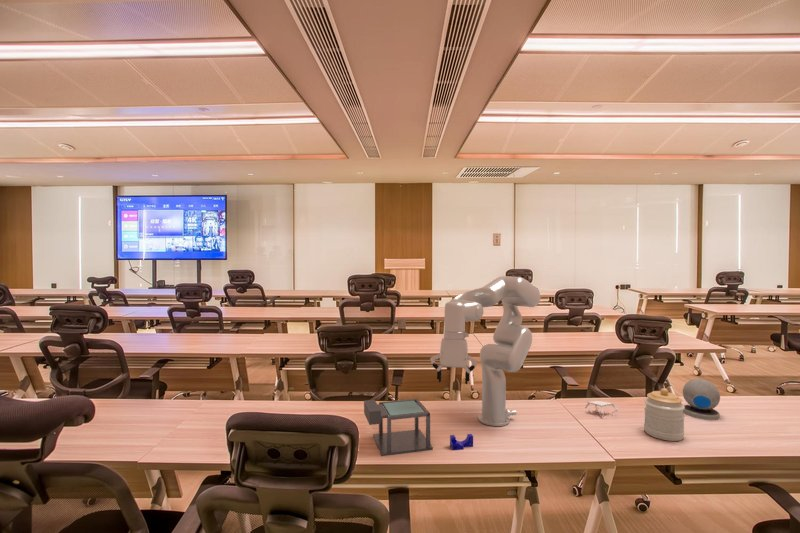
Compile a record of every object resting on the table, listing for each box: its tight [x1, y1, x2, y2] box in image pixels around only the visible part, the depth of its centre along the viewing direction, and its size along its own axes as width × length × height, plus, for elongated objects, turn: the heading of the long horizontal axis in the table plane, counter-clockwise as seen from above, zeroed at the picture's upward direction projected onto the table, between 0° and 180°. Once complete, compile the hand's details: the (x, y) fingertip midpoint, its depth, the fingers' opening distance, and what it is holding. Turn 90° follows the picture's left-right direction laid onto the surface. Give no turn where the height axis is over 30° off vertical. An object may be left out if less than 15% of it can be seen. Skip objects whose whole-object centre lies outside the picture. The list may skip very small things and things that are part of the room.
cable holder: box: [449, 433, 474, 451], centre depth 145 cm, size 8×4×4 cm, turn 98°
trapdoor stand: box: [372, 398, 434, 457], centre depth 148 cm, size 18×16×13 cm
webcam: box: [682, 378, 721, 421], centre depth 175 cm, size 13×13×15 cm
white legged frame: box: [584, 400, 619, 418], centre depth 175 cm, size 12×8×5 cm
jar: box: [643, 387, 685, 442], centre depth 155 cm, size 13×13×18 cm
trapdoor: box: [363, 399, 424, 426], centre depth 147 cm, size 19×12×5 cm, turn 105°
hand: (453, 382), depth 149 cm, fingers open, 9 cm apart
